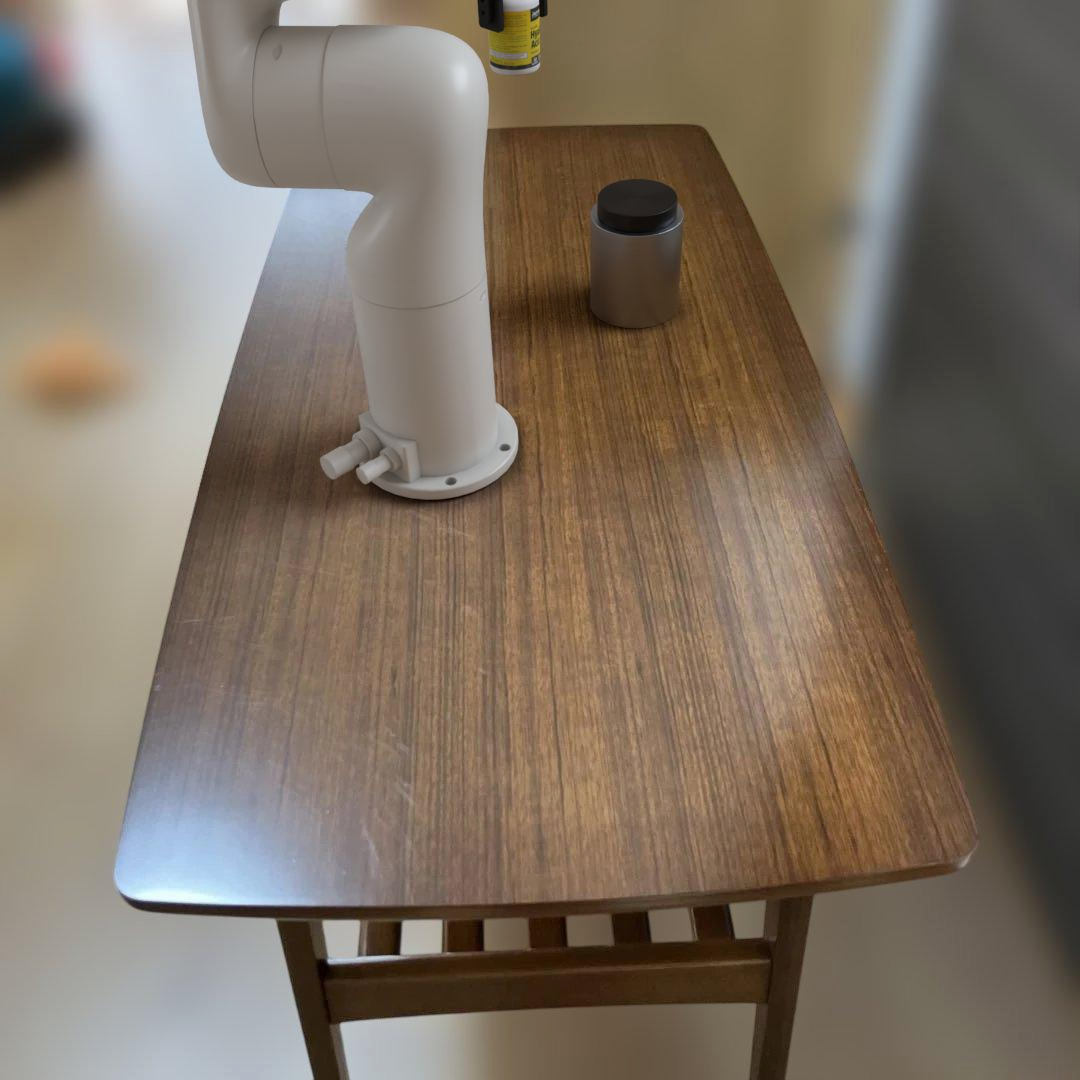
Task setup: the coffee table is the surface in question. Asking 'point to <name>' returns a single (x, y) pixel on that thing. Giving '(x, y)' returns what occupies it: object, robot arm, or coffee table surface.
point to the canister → (635, 253)
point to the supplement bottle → (516, 39)
